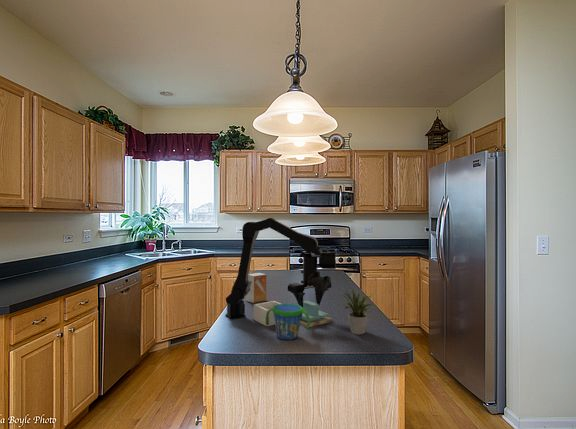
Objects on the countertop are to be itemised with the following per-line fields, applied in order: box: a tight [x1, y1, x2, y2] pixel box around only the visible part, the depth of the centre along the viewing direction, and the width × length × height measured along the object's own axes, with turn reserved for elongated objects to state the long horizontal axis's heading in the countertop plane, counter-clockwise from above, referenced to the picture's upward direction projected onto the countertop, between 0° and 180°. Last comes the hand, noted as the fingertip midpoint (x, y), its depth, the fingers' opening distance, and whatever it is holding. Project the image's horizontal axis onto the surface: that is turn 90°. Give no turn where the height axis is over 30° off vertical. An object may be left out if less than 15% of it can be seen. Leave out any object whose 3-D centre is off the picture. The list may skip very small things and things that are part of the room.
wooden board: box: [300, 316, 333, 328], centre depth 133 cm, size 13×12×1 cm
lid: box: [301, 300, 329, 322], centre depth 133 cm, size 10×10×6 cm
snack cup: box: [266, 303, 310, 341], centre depth 115 cm, size 16×11×10 cm
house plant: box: [340, 287, 376, 335], centre depth 120 cm, size 14×14×16 cm
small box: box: [245, 272, 267, 304], centre depth 163 cm, size 8×6×13 cm
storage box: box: [253, 300, 282, 327], centre depth 132 cm, size 10×10×6 cm
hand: (310, 307), depth 133 cm, fingers open, 8 cm apart
